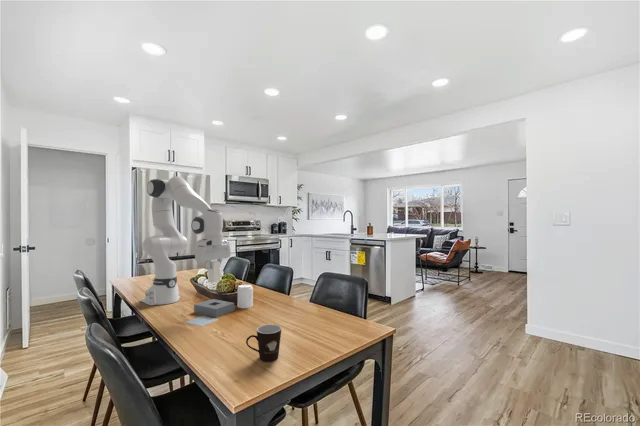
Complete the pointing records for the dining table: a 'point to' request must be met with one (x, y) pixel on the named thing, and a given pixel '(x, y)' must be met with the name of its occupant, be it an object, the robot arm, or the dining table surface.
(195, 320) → the mat
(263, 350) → the coffee mug
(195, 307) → the block
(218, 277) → the plug
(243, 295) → the beverage can
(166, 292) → the robot arm
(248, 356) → the dining table surface
